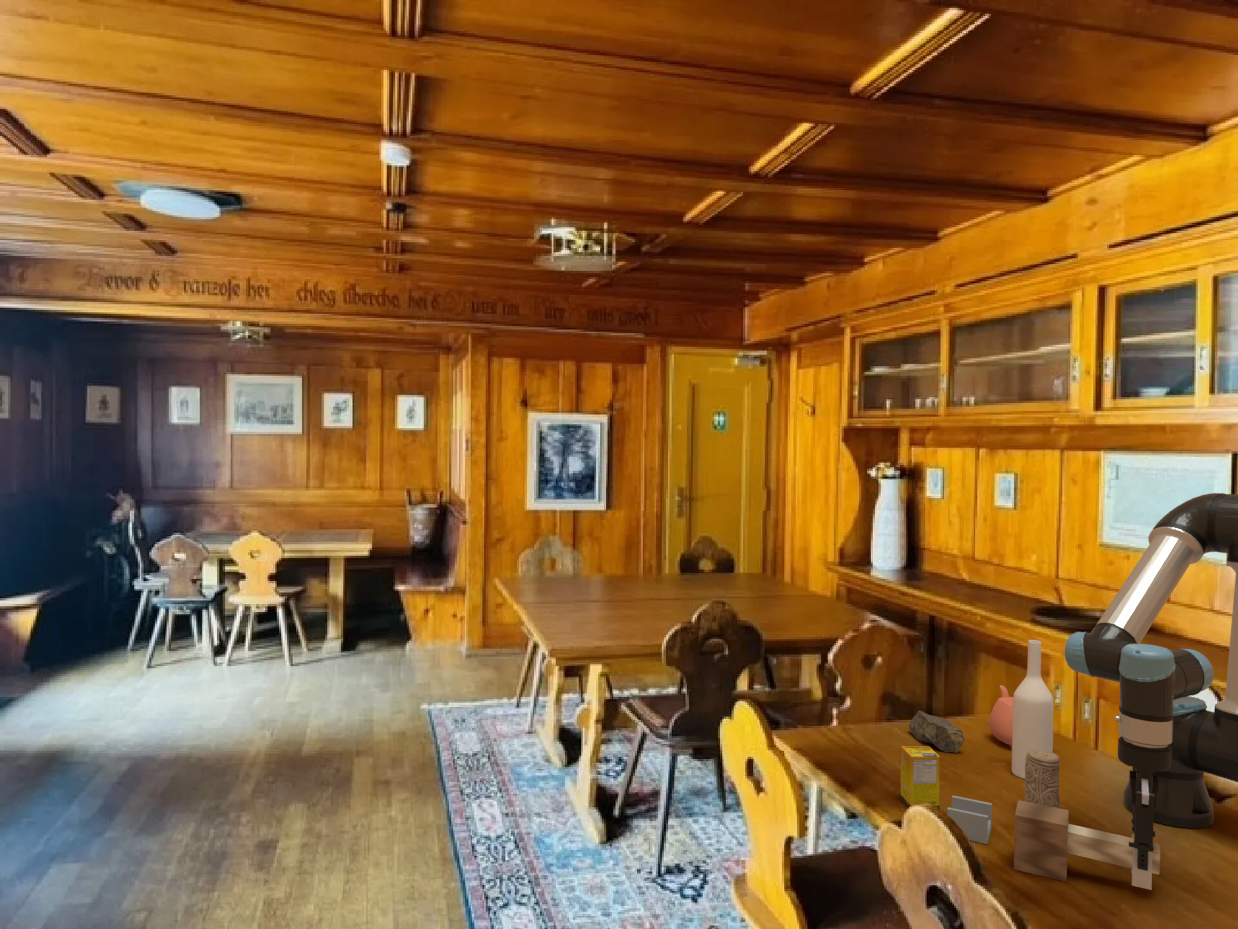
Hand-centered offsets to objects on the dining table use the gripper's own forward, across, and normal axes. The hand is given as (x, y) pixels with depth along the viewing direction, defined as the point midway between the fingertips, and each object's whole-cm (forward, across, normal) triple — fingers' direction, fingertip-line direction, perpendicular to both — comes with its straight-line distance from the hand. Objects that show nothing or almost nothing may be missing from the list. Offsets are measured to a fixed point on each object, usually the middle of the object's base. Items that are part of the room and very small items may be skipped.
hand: (1141, 880), depth 138 cm
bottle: (+2, -45, -19) cm, 49 cm away
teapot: (+2, -66, -24) cm, 70 cm away
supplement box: (+2, -16, -38) cm, 41 cm away
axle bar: (-3, 0, -6) cm, 6 cm away
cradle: (+1, -7, -27) cm, 28 cm away
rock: (+2, -54, -41) cm, 68 cm away
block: (+1, 0, -15) cm, 15 cm away
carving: (+2, -24, -16) cm, 29 cm away
